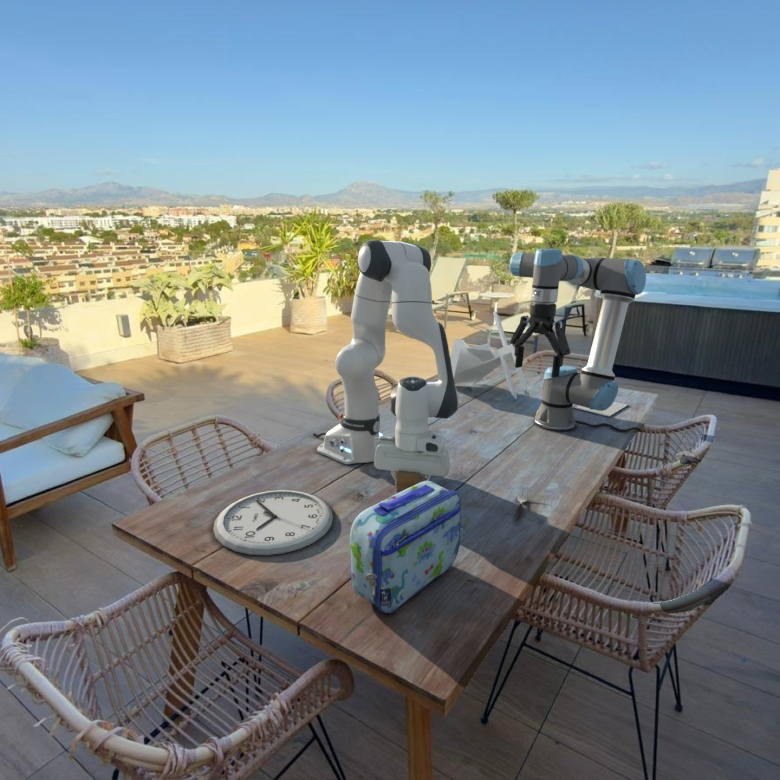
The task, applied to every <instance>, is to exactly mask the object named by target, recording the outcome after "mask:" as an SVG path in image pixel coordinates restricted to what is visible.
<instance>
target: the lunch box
mask: <svg viewBox="0 0 780 780" xmlns="http://www.w3.org/2000/svg"><path fill="white" fill-rule="evenodd" d="M461 503H462V502H461V496H460V493H459V492H458V491H457V490H454V489H453V490H448V489H447V488H445V487H443V486H441V485H439V484H437V483H436V482H433V481H431V480H429V481H424V482H421V483H419V484H416V485H414V486H412V487H410V488H408V489H405V490H403V491H401V492H399V493H397V492H396V494H393V495H391V496H390V497H388V498H386V499H385V498H384V499H383V500H381V501H380V502H378V503H376V504H374V505H371V506H370V507H368V508H366V509H364V510H362V511H361V512H360V513H359V514H358V515H357V516H356V517H355V518H354V520H353V521H352V523H351V528H350V532H349V533H350V535H349V552H350V553H349V555H350V578H351V579H350V580H351V587H352V591H353V592H354V594H355V595H357V596H359V597H362V598H363V599H364V600H367V601H368V602H369V603H371V604H372V605H374V606H375V607H376V609H377V610H378V611H380V612H382V613H384V614H391V613H393V612H395V611H397V610H398V608H400V607H401V606H402V605H403V604H404V603H406V602H407V601H408V600H410V599H411V598H412V597H413V596H415V595H417V594H418V593H419V592H420V591H421V590H422V589H424V588H425V587H426V586H428V584H429V583H431V582H432V581H434V580H435V579H436V578H438V577H440V576H441V575H443V574H444V573H445V572H447V571H448V570H449V569H450V568H451V567H452V566H453V564H454V563H455V560H456V559H457V556H458V554H459V551H460V544H461V543H460V542H461V522H462V521H461V520H462V512H461V510H462V506H461V505H462V504H461Z"/></svg>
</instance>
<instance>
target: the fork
mask: <svg viewBox="0 0 780 780" xmlns="http://www.w3.org/2000/svg"><path fill="white" fill-rule="evenodd" d="M526 490H527V488H525V489H521V487H519V492H518V495H517V501H518V502H519V505H518V507H517V508H516V509H517V510H516V521H518V520H519V518H520V515H521V513H522V511H523V503H526V502H527V501H528V495H529V490H527V491H526Z"/></svg>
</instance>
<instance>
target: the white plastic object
mask: <svg viewBox="0 0 780 780" xmlns="http://www.w3.org/2000/svg"><path fill="white" fill-rule="evenodd" d="M492 315H493V319H494V321H495V324H496V325H495V326H496V328H497V332H498V335H499V338H500V342H501V345H502V347H500V348H498V349H496V350H495V349H493V348H492V347H491V346H490V344H489V343H488V342H487V343H483V344H479V345H473V346H469V345H468V343H466V342H465V340H464V339H463V338H460V339H458V338H454V340H453V344H452V349H451V353H450V360H451V366H452V372H453V378H454V383H455V385H458V384H467V383H468V384H469V383H473V384H477V383H480V382H482V381H484V378H485V377H486V376H487V375H489V374H490V373H492V372H494V371H495V370H496V369H497V368H499V367H500V366H502V370H503V373H504V376H505V380H506V383H507V386H508V390H509V393H510V394H511V395H512V397H513V398H514V399H515V400H517V392H516V391H517V390H516V388H515V385H514V381H513V378H512V375H511V371H510V369H509V365H508V361H510V360H513V363H514V364H515V362H516V356H515V355H514V354H515V345H514V344H511V343H510V344H508V341H507V337H506V334H505V331H504V328H503V325H502V321H501V318H500V315H499V314H498V312H497V311H496V310H495V311H492ZM522 368H523V367H519V368H515V369H516V372H517V376H518V380H519V382H520V385H521V389H522V391H523V393H524V395H525V396H526V397H528V396H531V395H530V390H529V388H528V387H529V386H528V384H527V381H526V378H525V375H524V371H523V369H522Z"/></svg>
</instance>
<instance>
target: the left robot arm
mask: <svg viewBox="0 0 780 780" xmlns="http://www.w3.org/2000/svg"><path fill="white" fill-rule="evenodd" d="M356 257H357V258H356V263H357V268H358V270H359V272H360V273H359V275H358V279H357V282H356V285H355V291H354V296H353V301H352V308H351V312H350V313H351V314H350V323H351V325H352V339H351V341H350V343H348V344H347V345H345V346H344V347H342V348H341V349H340V351H339V352H338V354H337V355H336V357H335V360H334V368H335V370H336V373H337V374H338V375H339V376H340V379H341V384H342V387H343V394H344V395H343V396H344V412H343V413H341V414H340V415H338V416H337V420H340V422H339V423H338V424H336V425H335V426H334V427H332V428H330V429H329V430H327V432H320V433H319V434H317V433H315V432H314V433H312V435H313V436H314V437H316V438H319V437H321V436H324V440H323V442H322V443H321V444H319V445H318V447H317V448H316V452H317V453H318V454H321V455H323V456H325V457H327V458H330V459H332V460H334V461H337V462H339V463H340V464H341V463H342V464H343V465H354V464H366V463H372V462H373V466H374V467H375V469H376V470H380V471H381V470H382V471H390V475H391V476H392V478H393V480H394V486H397V474H398V472H399V470H400V471H409V472H417V473H421V474H424V475H425V478H426V479H425V480H422V482H424V481H431V477H433V476H434V477H442V478H445V477H446V476H448V475H449V473H450V468H451V467H450V464H451V463H450V453H449V450H448V448H447V446H446V443H447V439H446V437H445V436H444V435H441V434H439V433H437V432H434V431H432V430H430V426H429V422H428V421H429V418H435V419H444V420H447V419H449V418H451V417H452V416H453V415H454V414H455V413H456V412H457V411H458V410H459V409H458V408H459V404H460V403H459V402H460V399H459V394H458V390H457V387H456V384H455V383H454V378H453V372H452V366H451V360H450V357H451V353H450V348H449V343H448V337H447V333H446V329H445V327H444V325H443V324H442V323H441V322H439V321H438V320H437V319H436V317H435V314H434V310H433V291H432V282H431V277H430V271H431V269H432V257H431V254H430V252H429V250H427V249H426V248H425V247H423V246H421V245H417V244H411V243H407V242H403V241H397V240H396V241H393V240H392V241H391V240H390V241H389V240H379V239H371V240H367V241H365V242H364V243H362V245H361V246H360V247H359V249H358V252H357V256H356ZM390 306H391V307H390ZM390 308H391V319H392V323H393V325H394V327H395V328H396V330H398V331H399V332H400V333H401V334H402V335H404V336H407V337H409V338H411V339H414V340H416V341H419V342H421V343H423V344H425V345H427V346H428V347H429V348H431V350H432V351H433V354H434V359H435V365H436V369H437V377H438V380H437V381H427V380H425V378H422V377H419V376H414V375H413V376H405V377H403V378H401V379H400V380H399V381H398V383H396V384H395V385H394V386H393V387H392V388H391V390H390V412H391V413H392V414H393V416H395V417H396V423H395V427H394V432H395V433H394V436H385V435H383V433H381V432H380V427H381V414H380V413H379V405H380V404H379V401H380V399H379V398H380V397H379V394H380V393H379V390H378V389H377V386H376V382H375V381H376V380H375V369H376V368H378V367H379V366H381V364H382V363H383V361H384V359H385V356H386V352H387V351H386V350H387V348H386V326H387V320H388V315H389V310H390Z"/></svg>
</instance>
